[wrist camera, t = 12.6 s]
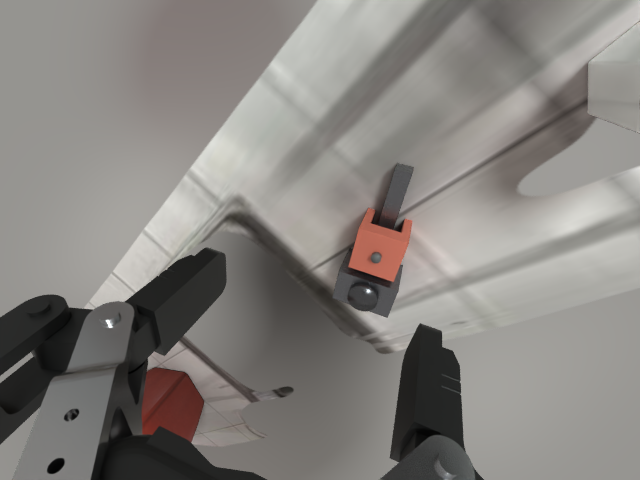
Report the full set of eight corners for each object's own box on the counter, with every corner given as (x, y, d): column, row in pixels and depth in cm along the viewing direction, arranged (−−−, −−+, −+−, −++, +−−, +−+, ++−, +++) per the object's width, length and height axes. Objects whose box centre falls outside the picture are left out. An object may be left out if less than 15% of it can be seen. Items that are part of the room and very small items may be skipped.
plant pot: (170, 401, 94) (124, 459, 81) (139, 357, 86) (82, 414, 72) (218, 411, 87) (177, 477, 73) (190, 364, 79) (137, 429, 65)
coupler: (373, 156, 38) (361, 174, 32) (438, 173, 36) (438, 195, 31) (343, 273, 48) (330, 302, 42) (392, 290, 47) (386, 322, 41)
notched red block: (368, 207, 41) (357, 231, 36) (412, 221, 40) (407, 247, 35) (358, 243, 45) (346, 270, 39) (398, 256, 44) (392, 285, 38)
